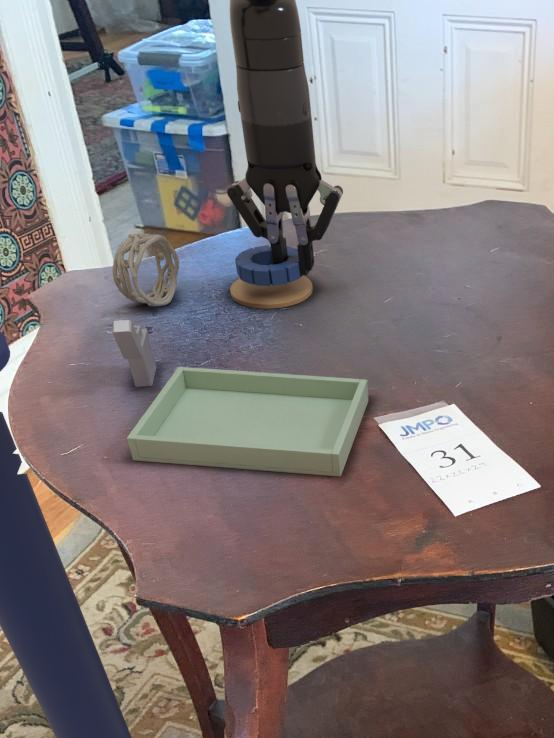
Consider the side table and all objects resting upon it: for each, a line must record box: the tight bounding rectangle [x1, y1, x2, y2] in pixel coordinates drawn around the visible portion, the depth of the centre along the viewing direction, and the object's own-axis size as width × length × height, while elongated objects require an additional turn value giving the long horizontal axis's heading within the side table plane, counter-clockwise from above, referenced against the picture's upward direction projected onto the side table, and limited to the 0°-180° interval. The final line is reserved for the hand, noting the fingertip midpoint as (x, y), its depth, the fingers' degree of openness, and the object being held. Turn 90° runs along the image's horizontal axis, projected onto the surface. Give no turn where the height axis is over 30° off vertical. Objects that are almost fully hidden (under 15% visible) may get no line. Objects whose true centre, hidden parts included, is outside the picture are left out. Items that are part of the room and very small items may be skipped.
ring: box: [234, 244, 303, 286], centre depth 103 cm, size 8×8×2 cm
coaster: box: [229, 275, 314, 310], centre depth 105 cm, size 10×10×1 cm
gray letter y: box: [111, 319, 157, 388], centre depth 85 cm, size 7×2×8 cm, turn 8°
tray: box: [126, 366, 369, 477], centre depth 81 cm, size 19×13×2 cm
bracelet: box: [112, 232, 180, 307], centre depth 100 cm, size 4×8×8 cm, turn 157°
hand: (294, 271), depth 103 cm, fingers closed on ring, 2 cm apart
